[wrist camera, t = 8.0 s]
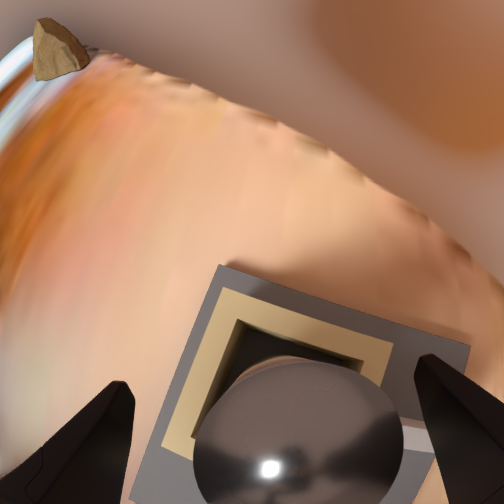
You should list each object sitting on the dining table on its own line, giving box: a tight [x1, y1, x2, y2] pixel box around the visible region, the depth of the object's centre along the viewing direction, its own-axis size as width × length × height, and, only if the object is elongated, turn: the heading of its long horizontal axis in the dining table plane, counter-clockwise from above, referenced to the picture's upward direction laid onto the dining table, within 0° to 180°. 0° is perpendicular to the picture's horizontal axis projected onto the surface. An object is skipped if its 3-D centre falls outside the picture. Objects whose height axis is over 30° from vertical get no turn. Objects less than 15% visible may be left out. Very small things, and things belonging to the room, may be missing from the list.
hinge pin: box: [193, 354, 404, 504], centre depth 12 cm, size 5×5×12 cm
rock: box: [33, 18, 90, 82], centre depth 31 cm, size 11×9×10 cm
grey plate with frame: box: [129, 264, 470, 504], centre depth 14 cm, size 19×19×6 cm
